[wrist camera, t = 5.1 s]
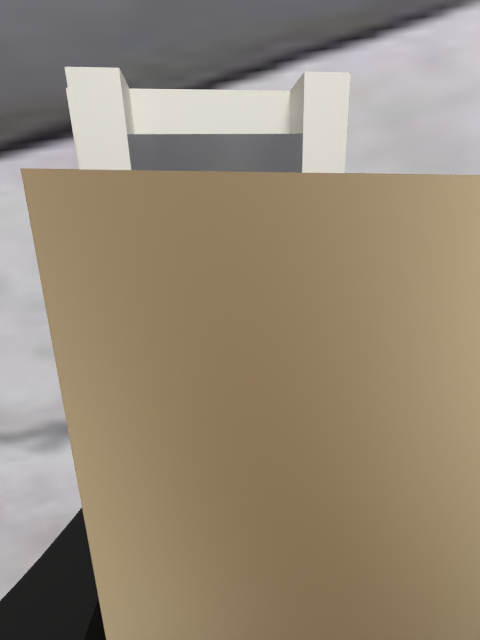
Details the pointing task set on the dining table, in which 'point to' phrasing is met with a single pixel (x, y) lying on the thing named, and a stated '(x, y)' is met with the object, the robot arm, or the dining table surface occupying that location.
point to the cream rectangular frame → (208, 125)
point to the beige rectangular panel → (270, 397)
